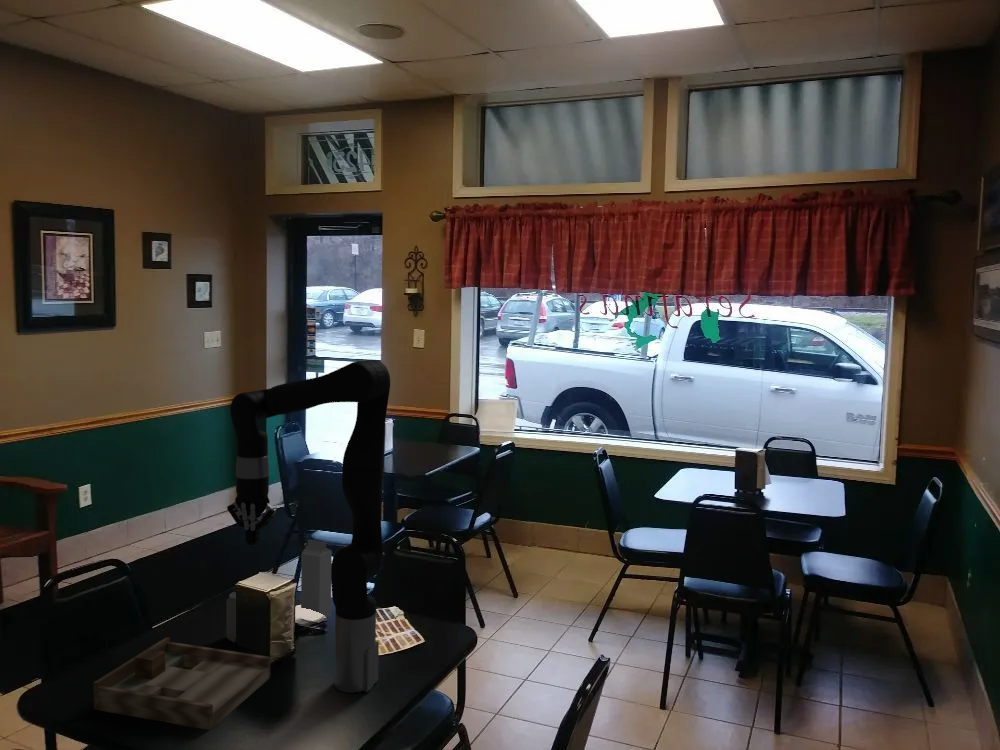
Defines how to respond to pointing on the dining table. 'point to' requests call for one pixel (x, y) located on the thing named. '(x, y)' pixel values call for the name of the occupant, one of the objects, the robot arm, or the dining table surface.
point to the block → (149, 664)
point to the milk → (316, 577)
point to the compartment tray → (184, 685)
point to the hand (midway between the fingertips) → (252, 544)
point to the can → (231, 617)
